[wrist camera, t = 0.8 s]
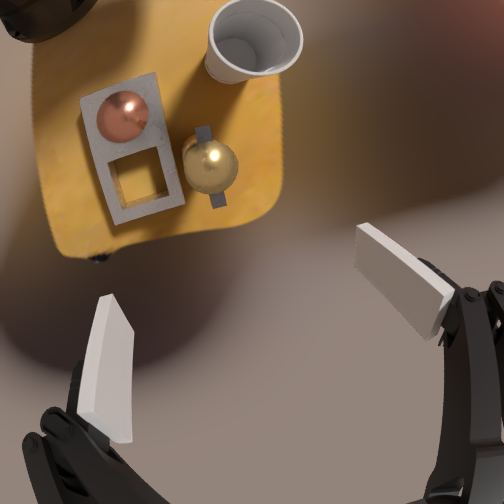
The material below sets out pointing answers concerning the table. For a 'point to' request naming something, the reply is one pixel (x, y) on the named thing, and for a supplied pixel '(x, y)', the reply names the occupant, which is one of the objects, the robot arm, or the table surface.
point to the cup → (251, 41)
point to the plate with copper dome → (130, 142)
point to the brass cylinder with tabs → (209, 165)
